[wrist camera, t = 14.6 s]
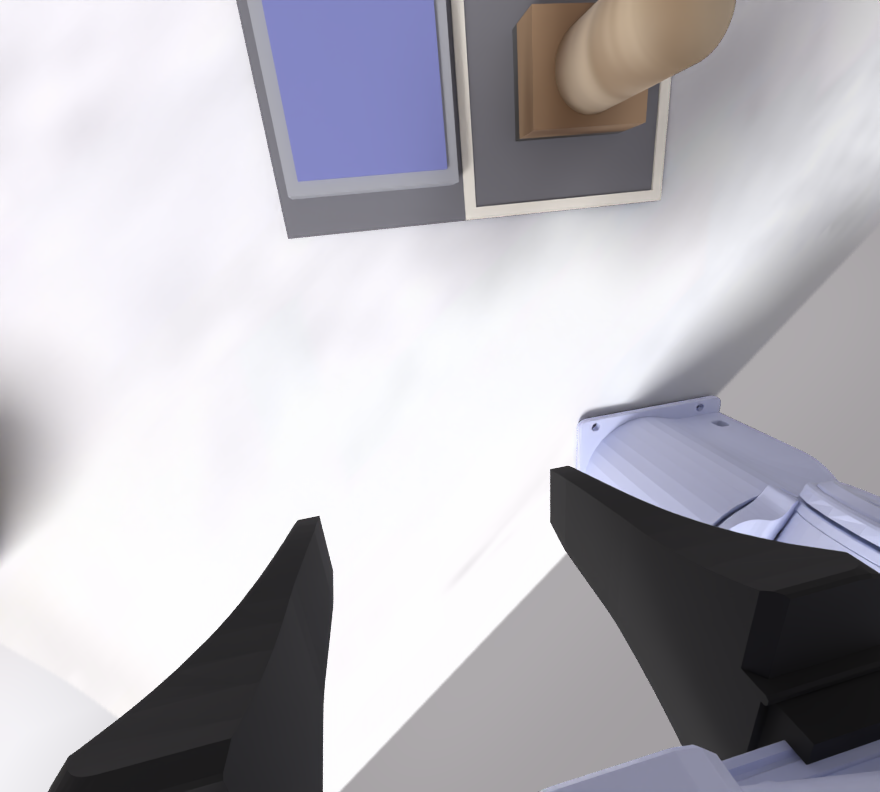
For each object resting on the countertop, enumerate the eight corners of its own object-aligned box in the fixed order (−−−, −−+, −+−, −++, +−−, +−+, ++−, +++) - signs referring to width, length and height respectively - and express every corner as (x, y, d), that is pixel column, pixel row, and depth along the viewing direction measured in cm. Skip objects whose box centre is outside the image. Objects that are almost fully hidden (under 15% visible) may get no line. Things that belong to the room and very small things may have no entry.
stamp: (623, 25, 18) (776, -96, 11) (617, 133, 19) (751, 79, 13) (512, 29, 17) (609, -99, 11) (515, 141, 19) (603, 88, 12)
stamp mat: (673, -59, 18) (709, -92, 16) (652, 201, 21) (679, 197, 19) (225, -59, 15) (208, -99, 13) (289, 238, 19) (283, 238, 17)
